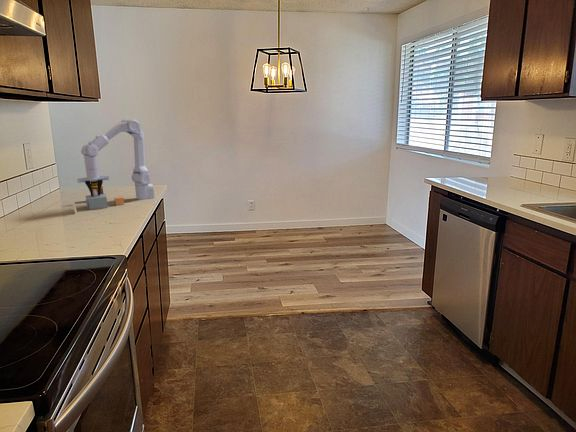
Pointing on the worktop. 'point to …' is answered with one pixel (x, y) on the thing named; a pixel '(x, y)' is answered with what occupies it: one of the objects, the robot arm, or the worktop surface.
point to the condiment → (94, 186)
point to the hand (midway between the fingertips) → (95, 195)
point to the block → (119, 200)
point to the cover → (96, 200)
